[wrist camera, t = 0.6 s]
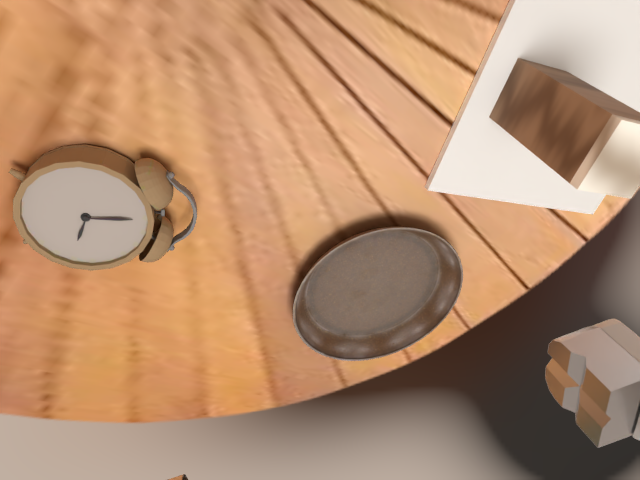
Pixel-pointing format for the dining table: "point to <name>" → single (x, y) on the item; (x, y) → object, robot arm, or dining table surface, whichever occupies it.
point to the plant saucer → (377, 293)
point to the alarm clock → (96, 207)
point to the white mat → (551, 50)
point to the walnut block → (572, 128)
